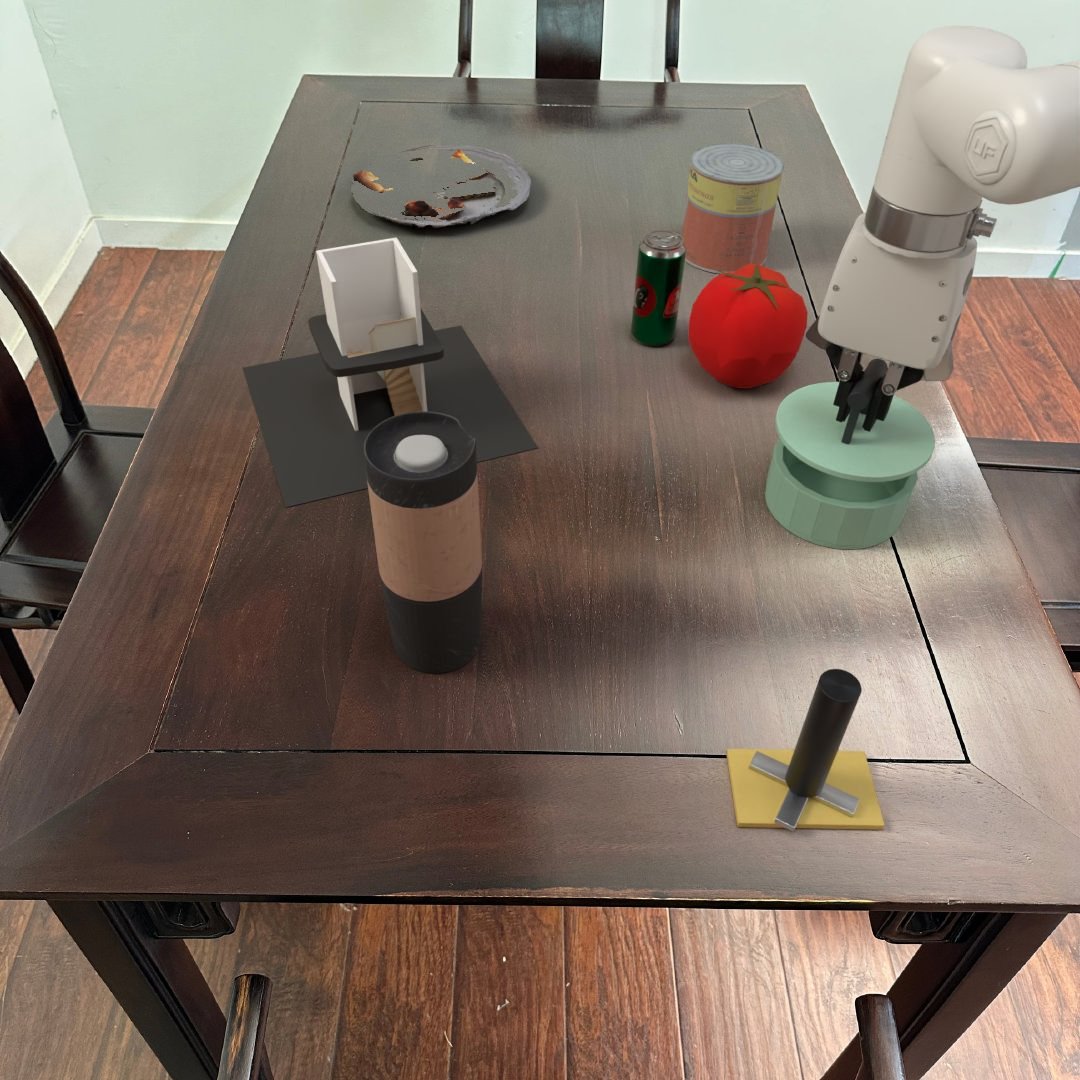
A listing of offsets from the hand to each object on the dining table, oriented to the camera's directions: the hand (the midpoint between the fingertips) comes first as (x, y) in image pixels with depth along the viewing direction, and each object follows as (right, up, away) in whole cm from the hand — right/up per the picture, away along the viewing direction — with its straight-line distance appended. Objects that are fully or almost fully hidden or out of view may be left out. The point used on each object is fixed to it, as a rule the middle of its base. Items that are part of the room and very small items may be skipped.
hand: (857, 417), depth 84 cm
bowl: (0, -7, +7) cm, 10 cm away
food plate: (-42, +38, +53) cm, 77 cm away
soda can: (-15, +13, +27) cm, 33 cm away
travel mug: (-36, -19, -6) cm, 41 cm away
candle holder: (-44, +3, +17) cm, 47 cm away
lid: (0, -1, +1) cm, 2 cm away
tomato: (-6, +8, +23) cm, 25 cm away
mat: (-9, -28, -15) cm, 34 cm away
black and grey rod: (-9, -28, -16) cm, 33 cm away
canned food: (-4, +27, +42) cm, 50 cm away
